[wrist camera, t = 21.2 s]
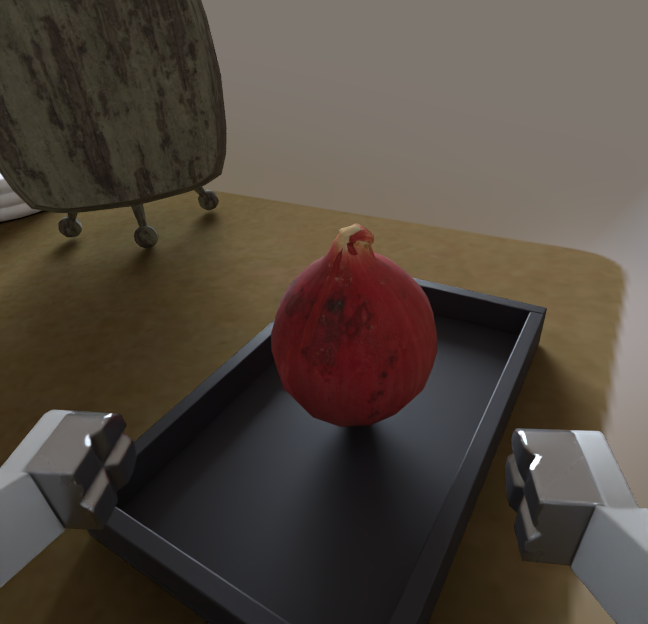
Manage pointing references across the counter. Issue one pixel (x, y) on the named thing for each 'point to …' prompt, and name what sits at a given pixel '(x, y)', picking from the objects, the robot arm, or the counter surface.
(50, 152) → the tabletop clock
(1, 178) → the white round flat cylinder
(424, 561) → the baking tray
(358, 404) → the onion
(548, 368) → the counter surface
